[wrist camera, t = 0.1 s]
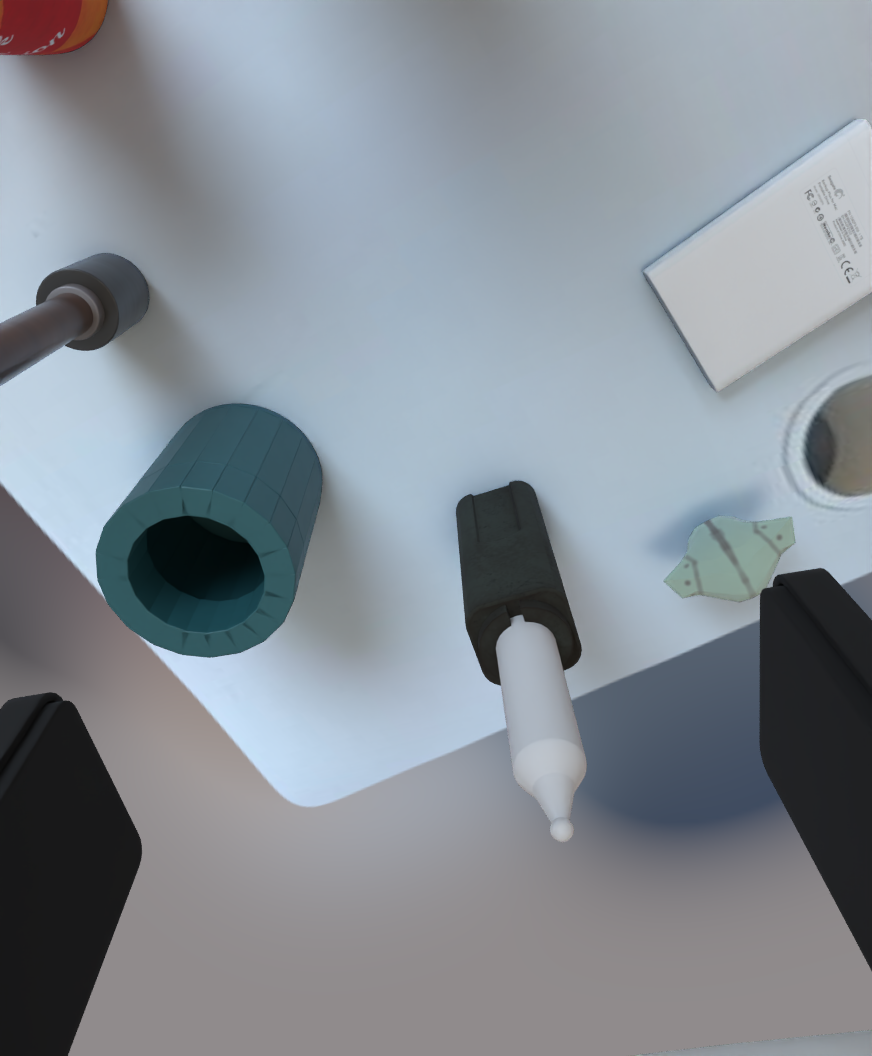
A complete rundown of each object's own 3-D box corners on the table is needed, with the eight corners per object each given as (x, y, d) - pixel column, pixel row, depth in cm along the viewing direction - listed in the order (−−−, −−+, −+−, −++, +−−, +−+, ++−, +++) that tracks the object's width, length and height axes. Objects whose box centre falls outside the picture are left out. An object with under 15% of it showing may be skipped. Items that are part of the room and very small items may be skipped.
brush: (63, 260, 43) (-169, 352, 26) (134, 246, 43) (-53, 330, 26) (91, 333, 45) (-110, 464, 28) (159, 320, 45) (-1, 444, 28)
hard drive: (639, 269, 44) (853, 118, 41) (709, 386, 47) (913, 254, 44) (647, 274, 42) (869, 118, 39) (718, 394, 45) (930, 258, 42)
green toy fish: (756, 474, 49) (803, 523, 43) (780, 524, 51) (828, 578, 45) (639, 535, 51) (668, 590, 45) (665, 582, 53) (696, 641, 47)
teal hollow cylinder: (145, 418, 47) (64, 506, 36) (300, 390, 47) (264, 471, 36) (195, 555, 51) (135, 670, 41) (338, 531, 51) (316, 641, 40)
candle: (475, 567, 52) (514, 901, 30) (451, 499, 50) (473, 806, 28) (550, 544, 51) (648, 869, 29) (529, 475, 49) (618, 770, 27)
